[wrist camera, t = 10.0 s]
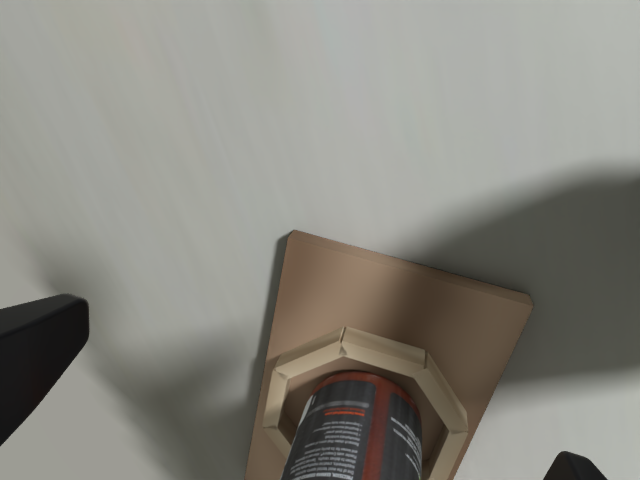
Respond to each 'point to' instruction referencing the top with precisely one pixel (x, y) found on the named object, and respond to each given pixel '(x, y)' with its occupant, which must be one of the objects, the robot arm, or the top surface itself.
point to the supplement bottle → (357, 432)
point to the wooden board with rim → (383, 345)
